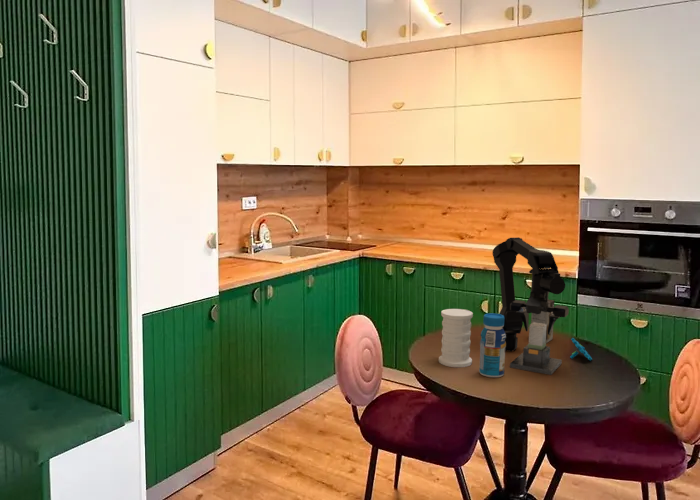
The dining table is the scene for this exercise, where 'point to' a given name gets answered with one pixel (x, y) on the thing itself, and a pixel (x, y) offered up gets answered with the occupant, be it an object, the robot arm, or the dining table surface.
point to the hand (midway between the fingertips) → (537, 332)
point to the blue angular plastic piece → (579, 350)
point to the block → (537, 336)
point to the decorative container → (456, 338)
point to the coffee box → (544, 320)
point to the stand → (536, 361)
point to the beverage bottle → (492, 346)
